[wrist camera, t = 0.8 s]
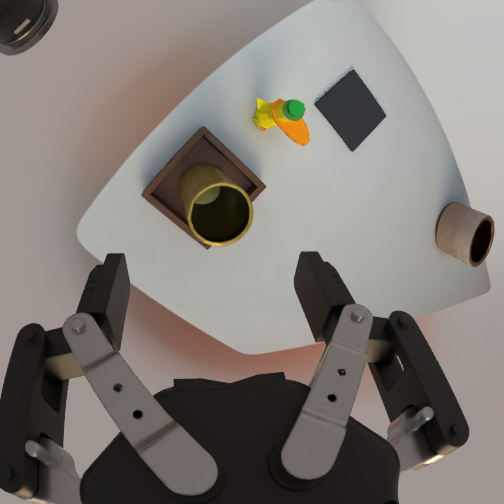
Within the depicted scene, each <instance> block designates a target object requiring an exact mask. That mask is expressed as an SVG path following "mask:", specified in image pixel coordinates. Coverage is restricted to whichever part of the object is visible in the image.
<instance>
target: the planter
mask: <svg viewBox="0 0 504 504" xmlns="http://www.w3.org/2000/svg"><path fill="white" fill-rule="evenodd" d="M436 237H437V244H438V246H439V248H440V249H441V250H442V251H444V252H446V253H448V254H450V255H452V256H454V257H455V258H457V259H459V260H461V261H463V262H465V263H467V264H468V265H470V266H472V267H477V266H479V265H480V264H481V263H482V262H483V261H484V260H485V258H486V256H487V255H488V253H489V250H490V248H491V245H492V242H493V237H494V222H493V220H492V217H491V216H489V215H487V214H484V213H482V212H479V211H477V210H474V209H472V208H470V207H467V206H465V205H462V204H459V203H452V204H450V205H449V206H448V207H447V208H446V209H445V210H444V211H443V213H442V215H441V217H440V219H439V222H438V226H437V233H436Z"/></svg>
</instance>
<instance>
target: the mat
mask: <svg viewBox="0 0 504 504" xmlns="http://www.w3.org/2000/svg"><path fill="white" fill-rule="evenodd" d="M315 106H316V107H317V108H318V109H319V110H320V112H321V113H322V114H323V115H324V116H325V118H326V119H327V120H328V121H329V123H330V124H331V125H332V126H333V128H334V129H335V130H336V132H337V133H338V134H339V135H340V137H341V138H342V139H343V141H344V142H345V143H346V145H347V146H348V147H349V149H350V150H351V151H354V150H355V149H356V148H357V147H358V146H359V145H360V144H361V143H362V142H363V140H364V139H365V138H366V137H367V136H368V135H369V134H370V133H371V132H372V131H373V130H374V129H375V128H376V127H377V126H378V124H379V123H380V122H381V121H382V120H383V119H384V118H385V117H386V114H385V113H384V111H383V110H382V108H381V107H380V105H379V104H378V102H377V101H376V99H375V98H374V97H373V95H372V94H371V92H370V91H369V89H368V88H367V87H366V85H365V84H364V83H363V81H362V80H361V79H360V77H359V76H358V75H357V73H356V72H355V71H354V70H352V71H351V72H349V73H348V74H347V75H346V76H345V77H344V78H343V79H342V80H340V81H339V82H338V83H337V84H336V85H335V86H334V87H333V88H332V89H330V90H329V91H328V92H327V93H326V94H325V95H324V96H323V97H322V98H321V99H319V100H318V101H317V102H316V103H315Z"/></svg>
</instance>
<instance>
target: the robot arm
mask: <svg viewBox="0 0 504 504" xmlns="http://www.w3.org/2000/svg"><path fill="white" fill-rule="evenodd" d="M46 6H47V2H46V0H0V43H1V44H3V45H12V44H15V43H17V42H19V41H21V40H22V39H24V38H25V37H27V36H28V35H29V34H30V33H31V32H32V31H33V30H34V29H35V28H36V26H37V25H38V24H39V22H40V21H41V19H42V17H43V15H44V13H45V10H46ZM294 288H295V291H296V294H297V296H298V299H299V301H300V303H301V306H302V308H303V311H304V313H305V316H306V318H307V321H308V324H309V326H310V329H311V331H312V334H313V336H314V339H315V341H316V342H323V341H325V343H326V347H325V349H324V351H323V354H322V356H321V359H320V361H319V363H318V366H317V368H316V370H315V372H314V374H313V377H312V379H311V381H310V383H309V385H308V386H307V385H305V384H302V383H300V382H297V381H293V380H288V379H285V375H284V372H278V373H269V374H259V375H255V376H252V377H249V378H246V379H243V380H240V381H236V382H233V383H225V382H219V381H213V380H207V379H202V378H199V379H174V387H171V388H167V389H164V390H162V391H160V392H158V393H157V394H155V395H153V396H152V395H151V393H150V392H149V391H148V390H147V389H146V388H145V386H144V385H143V384H142V382H141V381H140V380H139V379H138V377H137V376H136V375H135V373H134V372H133V371H132V369H131V368H130V367H129V365H128V364H127V363H126V361H125V360H124V359H123V357H122V356H121V355H120V353H119V352H118V351H120V346H121V340H122V334H123V327H124V321H125V316H126V310H127V305H128V300H129V295H130V280H129V275H128V269H127V264H126V259H125V255H124V253H109V254H107V256H106V259H105V262H104V264H103V265H97V266H96V267H95V268H94V269H93V270H92V271H91V272H90V274H89V277H88V280H87V283H86V285H85V289H84V291H83V294H82V296H81V299H80V302H79V305H78V308H77V311H76V314H74V315H72V316H70V317H69V318H68V319H67V320H66V321H65V322H64V324H63V327H61V328H57V329H53V330H49V331H45V330H44V328H43V327H42V326H41V325H39V324H36V323H32V324H28V325H26V326H24V327H23V328H22V329H21V330H20V331H19V333H18V335H17V338H16V341H15V344H14V347H13V351H12V354H11V357H10V361H9V364H8V368H7V372H6V376H5V380H4V384H3V389H2V393H1V398H0V488H1V489H2V490H4V491H6V492H8V493H10V494H13V495H16V496H17V497H19V498H21V499H24V500H27V501H30V502H33V503H36V504H399V501H398V480H399V474H400V473H402V472H404V471H407V470H409V469H412V470H419V469H421V468H423V467H425V466H427V465H429V464H431V463H433V462H435V461H437V460H439V459H440V458H442V457H444V456H445V455H447V454H449V453H451V452H452V451H454V450H456V449H457V448H459V447H460V446H462V445H464V443H466V441H467V440H468V437H469V427H468V424H467V421H466V419H465V417H464V415H463V412H462V410H461V408H460V406H459V404H458V402H457V399H456V397H455V395H454V393H453V391H452V389H451V387H450V385H449V383H448V381H447V379H446V377H445V375H444V373H443V371H442V369H441V367H440V365H439V363H438V361H437V360H436V357H435V356H434V354H433V352H432V350H431V348H430V346H429V345H428V343H427V341H426V339H425V337H424V336H423V334H422V332H421V330H420V329H419V327H418V325H417V324H416V322H415V320H414V319H413V318H412V317H411V316H410V315H409V314H407V313H406V312H403V311H394V312H392V313H391V314H390V316H389V318H388V319H387V318H381V317H374V316H372V314H371V312H370V311H369V310H368V309H367V308H366V307H364V306H362V305H359V304H356V303H355V301H354V299H353V298H352V296H351V294H350V292H349V291H348V289H347V287H346V285H345V284H344V283H343V280H342V279H341V277H340V275H339V274H338V272H337V270H336V269H335V268H334V267H333V266H332V265H331V264H330V263H328V262H324V261H323V260H322V258H321V256H320V254H319V253H318V252H317V251H309V252H301V253H300V256H299V260H298V264H297V268H296V272H295V276H294ZM397 356H399V359H400V361H401V363H402V365H403V369H404V372H403V370H402V368H401V365H400V363H399V361H398V359H397ZM366 362H367V363H368V365H369V368H370V370H371V373H372V375H373V378H374V380H375V383H376V385H377V388H378V390H379V393H380V396H381V398H382V401H383V404H384V406H385V409H386V411H387V414H388V417H389V420H390V423H391V424H390V425H389V427H388V437H387V440H385V439H384V438H382V437H381V436H379V435H378V434H376V433H375V432H373V431H372V430H370V429H369V428H367V427H366V426H364V425H363V424H361V423H360V422H358V421H357V420H355V419H354V418H353V417H351V416H350V412H351V410H352V407H353V404H354V401H355V398H356V395H357V391H358V388H359V385H360V381H361V378H362V375H363V371H364V367H365V364H366ZM83 375H85V376H86V378H87V380H88V382H89V383H90V385H91V387H92V388H93V390H94V392H95V393H96V395H97V396H98V398H99V400H100V401H101V403H102V404H103V406H104V407H105V409H106V410H107V412H108V413H109V415H110V416H111V418H112V419H113V421H114V422H115V423H116V425H117V426H118V428H119V429H120V430H121V431H120V432H119V434H118V435H117V436H116V437H115V438H114V439H113V441H112V442H111V443H110V444H109V445H108V446H107V447H106V448H105V450H104V451H103V452H102V453H101V454H100V455H99V457H98V458H97V459H96V460H95V461H94V462H93V463H92V464H91V466H90V467H89V468H88V469H87V470H86V471H85V473H84V474H83V476H82V479H81V478H80V477H79V476H78V474H77V472H76V470H75V465H74V461H73V458H72V456H71V455H70V454H69V453H68V452H67V451H66V450H64V449H63V438H64V437H63V436H64V421H65V408H66V399H67V390H68V382H69V379H70V378H75V377H79V376H83Z"/></svg>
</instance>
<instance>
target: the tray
mask: <svg viewBox="0 0 504 504" xmlns="http://www.w3.org/2000/svg"><path fill="white" fill-rule="evenodd" d="M197 163H210V164H213V165H215V166H217V167H218V168H220V169H221V170H222V172H223V173H224V174H225V175H226V176H227V177H228V178H229V179H230V180H231V181H233V182H234V183H235V184H237V185H238V186H239V187H241V188H242V189H243V190H244V191H245V192H246V193H247V194H248V196H249V198H250V200H251V203H252V202H253V201H254V200H255V198H256V197H257V196H258V195H259V194H260V193H261V192H262V191H263V190H264V189H265V188H266V185H265V184H264V183H262V181H261V180H260V179H259V178H258V177H257V176H256V175H254V174H253V173H252V172H251V171H250V170H249V169H248V168H247V167H246V166H245V165H244V164H243V163H242V162H241V161H240V160H239V159H238V158H237V157H236V156H235V155H234V154H233V153H232V152H231V151H230V150H229V149H228V148H227V147H226V146H225V145H223V144H222V143H221V142H220V141H219V140H218V139H217V138H216V137H215V136H214V135H213V134H212V133H211V132H210V131H208V130H207V129H206V128H205V127H204V126H203V127H201V128H200V129H199V130H198V131H197V132H196V133H195V134H194V135H193V136H192V137H191V138H190V139H189V140H188V141H187V142H186V143H185V144H184V145H183V147H182V148H181V149H180V150H179V151H178V152H177V153H176V154H175V155H174V156H173V157H172V159H171V160H170V161H169V162H168V163H167V164H166V165H165V166H164V168H163V169H162V170H161V171H160V172H159V173H158V174H157V176H156V177H155V178H154V179H153V180H152V181H151V183H150V184H149V185H148V186H147V187H146V189H145V190H144V191H143V193H142V195H141V196H142V197H144V198H145V199H146V200H147V201H148V202H149V203H151V204H152V205H153V206H154V207H155V208H157V209H158V210H159V211H160V212H162V213H163V214H164V215H165V216H166V217H168V218H169V219H170V220H171V221H173V222H174V223H175V224H176V225H177V226H179V227H180V228H181V229H182V230H184V231H185V232H186V233H187V234H188V235H190V236H191V237H192V238H193V239H195V240H196V241H197V242H198V243H200V244H201V245H202V246H203V247H205V248H206V249H207V250H208V249H209V248H210V247H211V246H212V245H208V244H206V243H204V242H202V241H201V240H200V239H198V238H197V237H196V236H195V235H194V234H193V233H192V231H191V229H190V227H189V223H188V220H187V217H186V211H185V206H184V203H183V201H182V199H181V197H180V195H179V191H178V185H179V180H180V178H181V176H182V174H183V173H184V171H185V170H186V169H188V168H189V167H191V166H192V165H194V164H197Z"/></svg>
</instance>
